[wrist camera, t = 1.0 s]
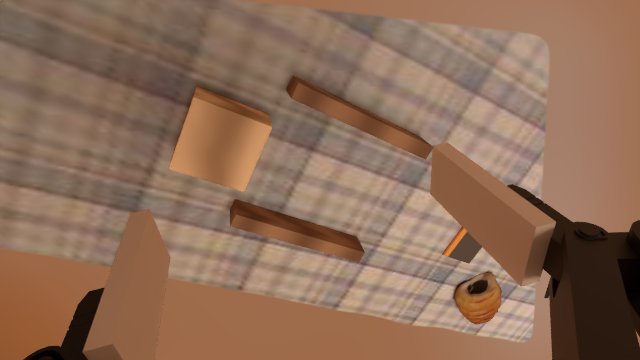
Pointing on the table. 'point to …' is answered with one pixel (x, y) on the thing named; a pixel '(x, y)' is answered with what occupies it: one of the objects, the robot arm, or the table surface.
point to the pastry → (479, 298)
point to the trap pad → (463, 247)
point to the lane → (310, 233)
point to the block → (220, 140)
